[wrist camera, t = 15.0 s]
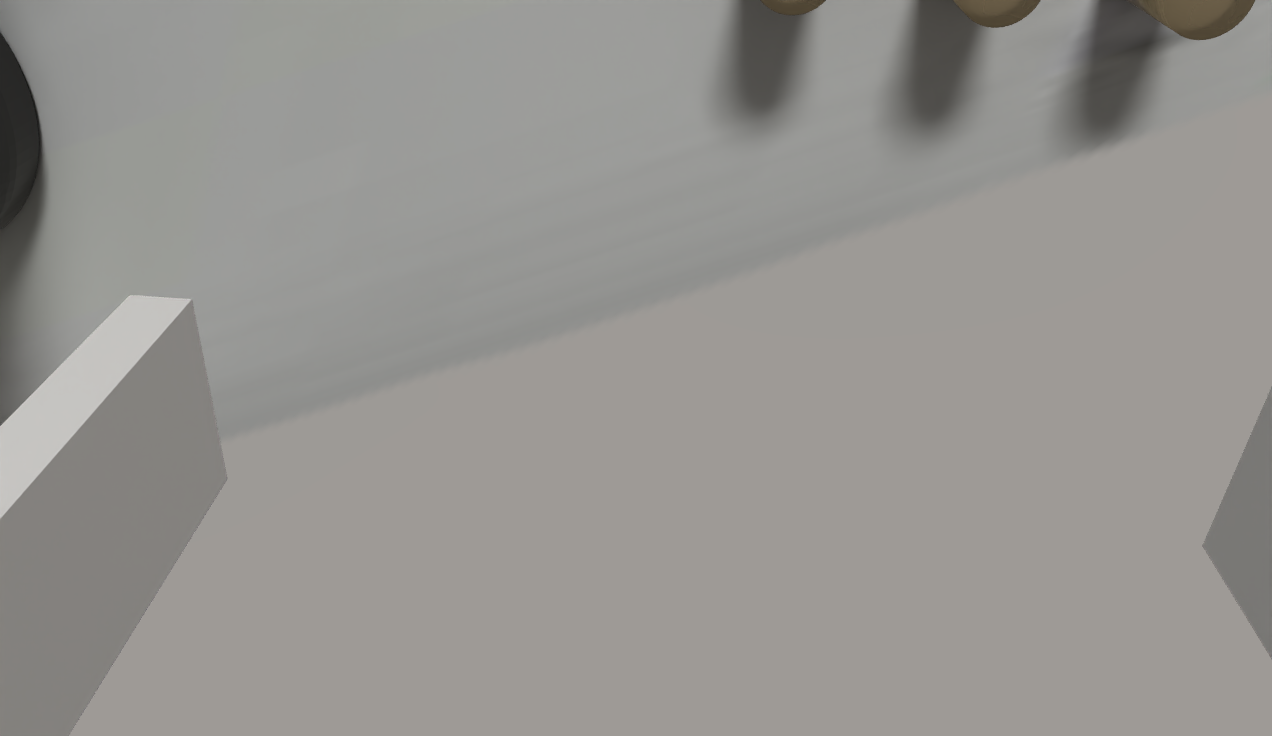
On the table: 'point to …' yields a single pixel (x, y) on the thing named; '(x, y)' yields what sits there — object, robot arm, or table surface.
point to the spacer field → (1186, 3)
